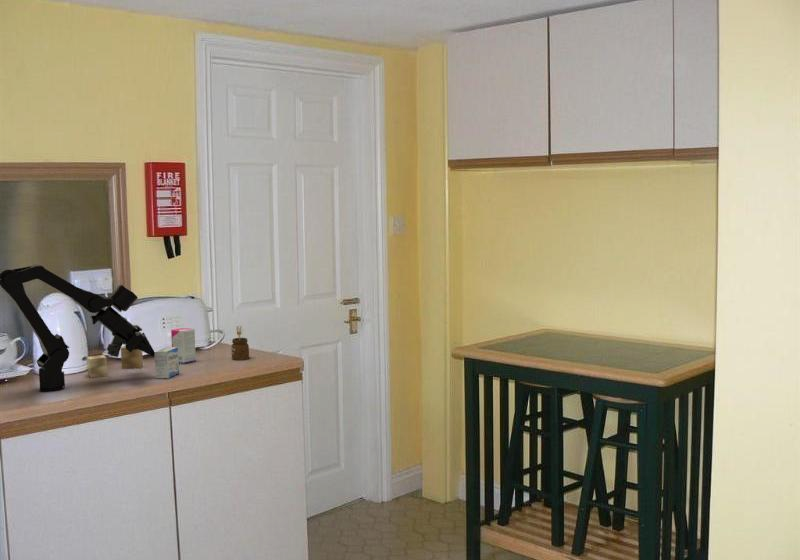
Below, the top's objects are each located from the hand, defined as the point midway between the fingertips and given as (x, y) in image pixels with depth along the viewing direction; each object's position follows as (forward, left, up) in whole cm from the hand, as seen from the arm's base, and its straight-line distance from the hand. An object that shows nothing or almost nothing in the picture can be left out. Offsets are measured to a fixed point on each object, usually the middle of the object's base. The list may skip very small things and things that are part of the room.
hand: (154, 355), depth 273 cm
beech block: (-17, +10, -7) cm, 21 cm away
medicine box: (+4, 0, -7) cm, 8 cm away
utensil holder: (+30, +19, -7) cm, 36 cm away
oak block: (-6, +19, -7) cm, 21 cm away
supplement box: (+11, +21, -7) cm, 24 cm away
